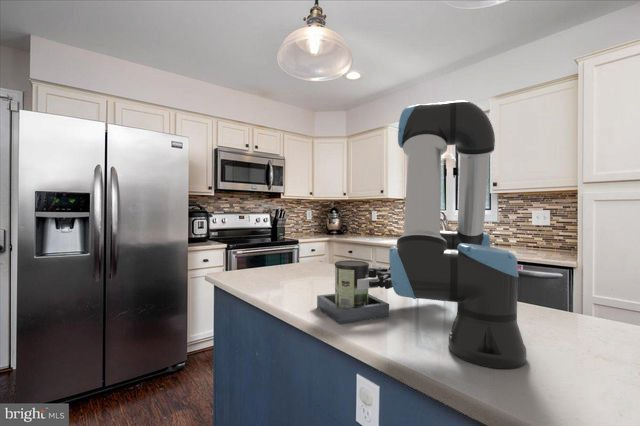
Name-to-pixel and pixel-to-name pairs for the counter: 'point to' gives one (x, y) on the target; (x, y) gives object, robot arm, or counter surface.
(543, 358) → the counter surface
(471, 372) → the counter surface
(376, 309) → the tray
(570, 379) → the counter surface
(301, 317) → the counter surface
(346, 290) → the coffee can
